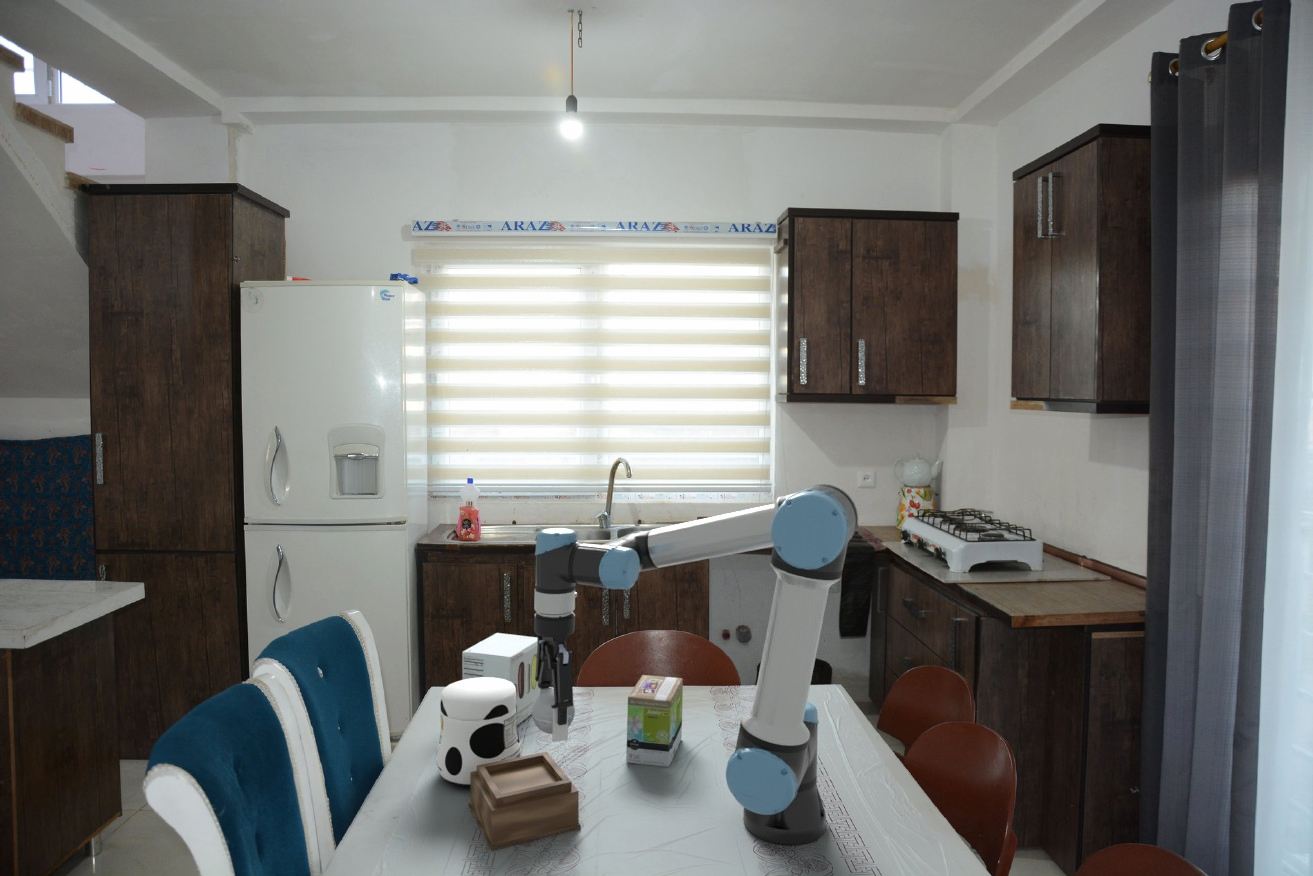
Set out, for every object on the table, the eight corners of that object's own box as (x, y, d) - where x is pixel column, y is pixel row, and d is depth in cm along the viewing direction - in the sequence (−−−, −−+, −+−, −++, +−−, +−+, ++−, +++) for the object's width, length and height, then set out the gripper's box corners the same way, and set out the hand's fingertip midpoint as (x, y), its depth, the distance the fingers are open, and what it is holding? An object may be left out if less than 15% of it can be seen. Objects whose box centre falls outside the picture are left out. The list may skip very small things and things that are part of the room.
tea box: (671, 768, 173) (671, 700, 172) (625, 764, 175) (625, 696, 174) (682, 739, 188) (683, 676, 187) (640, 735, 190) (640, 673, 189)
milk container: (432, 763, 175) (432, 681, 174) (513, 751, 181) (512, 671, 180) (441, 800, 159) (440, 710, 158) (529, 786, 165) (528, 699, 164)
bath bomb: (582, 733, 153) (583, 692, 152) (547, 745, 147) (548, 702, 147) (558, 720, 159) (559, 679, 158) (523, 730, 153) (524, 689, 153)
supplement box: (510, 733, 190) (510, 657, 189) (461, 726, 194) (460, 651, 193) (543, 706, 207) (543, 636, 206) (496, 700, 211) (496, 631, 210)
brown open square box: (580, 828, 149) (580, 783, 148) (491, 851, 141) (491, 803, 141) (550, 789, 163) (550, 747, 163) (468, 807, 156) (468, 764, 156)
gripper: (593, 625, 144) (590, 750, 145) (556, 596, 162) (554, 707, 164) (552, 629, 140) (550, 757, 142) (519, 599, 159) (518, 713, 161)
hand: (552, 730), depth 153 cm, fingers closed on bath bomb, 8 cm apart
